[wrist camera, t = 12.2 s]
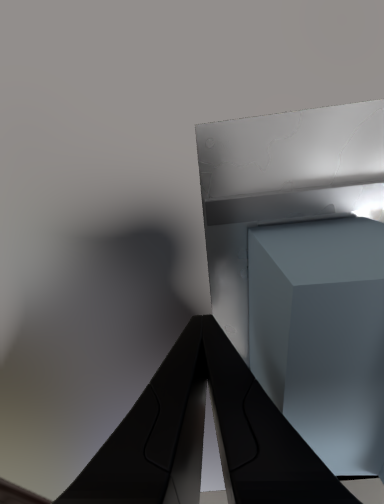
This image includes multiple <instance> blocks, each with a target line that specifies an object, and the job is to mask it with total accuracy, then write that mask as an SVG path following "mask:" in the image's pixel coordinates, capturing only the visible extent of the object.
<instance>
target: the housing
mask: <svg viewBox="0 0 384 504" xmlns="http://www.w3.org/2000/svg"><path fill="white" fill-rule="evenodd" d="M248 271H249V363H250V368H251V372H252V373H253V375H254V376H255V378H256V379H257V380H258V382H259V383H260V385H261V386H262V388H263V389H264V390H265V392H266V393H267V395H268V396H269V397H270V399H271V400H272V401H273V403H274V404H275V405H276V407H277V408H278V409H279V410H280V412H281V413H282V414H283V415H284V416H285V418H286V419H287V420H288V421H289V423H290V424H291V425H292V426H293V427H294V428H295V430H296V431H297V432H298V433H299V434H300V435H301V437H302V438H303V439H304V440H305V441H306V442H307V444H308V445H309V446H310V447H311V448H312V449H313V451H314V452H315V453H316V454H317V455H318V456H319V458H320V459H321V460H322V461H323V462H324V463H325V465H326V466H327V467H328V468H329V469H330V471H331V472H332V473H333V474H334V475H335V476H337V475H378V476H379V478H380V479H381V481H382V483H383V484H384V223H382V222H379V221H376V220H373V219H369V218H366V217H353V218H343V219H333V220H323V221H312V222H302V223H292V224H282V225H271V226H261V227H251V228H248Z"/></svg>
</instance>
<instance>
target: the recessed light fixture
mask: <svg viewBox="0 0 384 504" xmlns="http://www.w3.org/2000/svg"><path fill="white" fill-rule="evenodd" d="M340 482H341V483H342V484H343V485H344V486H345V487H346V488H347V489H348V490H349V491H350V492H351V493H352V494H353V495H354V496H355V497H356V498H357V499H358V500H359V501H361V502H362V503H363V504H384V484H383V483H382V481H381V479H380V478H372V479H359V480H347V481H340ZM199 504H228V500H227V494H226V490H221V491H209V492H200V501H199Z"/></svg>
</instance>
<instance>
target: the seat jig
mask: <svg viewBox="0 0 384 504" xmlns="http://www.w3.org/2000/svg"><path fill="white" fill-rule="evenodd" d="M195 130H196V141H197V152H198V163H199V173H200V185H201V194H202V206H203V216H204V228H205V239H206V250H207V260H208V271H209V282H210V293H211V304H212V314H213V316H214V318H215V319H216V321H217V322H218V324H219V325H220V327H221V328H222V329H223V331H224V332H225V334H226V335H227V337H228V338H229V340H230V341H231V343H232V344H233V345H234V347H235V348H236V350H237V351H238V353H239V354H240V356H241V357H242V359H243V360H244V362H245V363H246V364H247V366H248V367H249V369H250V370H251V368H250V363H249V271H248V228H251V227H261V226H271V225H282V224H292V223H302V222H312V221H323V220H333V219H343V218H353V217H366V218H369V219H373V220H376V221H379V222H382V223H384V99H379V100H372V101H365V102H357V103H350V104H343V105H336V106H328V107H321V108H313V109H306V110H299V111H291V112H284V113H277V114H270V115H262V116H255V117H248V118H240V119H233V120H226V121H218V122H212V123H204V124H197V125H195Z"/></svg>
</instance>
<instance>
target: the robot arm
mask: <svg viewBox="0 0 384 504" xmlns="http://www.w3.org/2000/svg"><path fill="white" fill-rule="evenodd" d="M207 381H208V386H209V393H210V399H211V405H212V410H213V417H214V423H215V429H216V435H217V441H218V447H219V453H220V458H221V465H222V471H223V476H224V482H225V488H226V494H227V500H228V504H363V503H362V502H361V501H359V500H358V499H357V498H356V497H355V496H354V495H353V494H352V493H351V492H350V491H349V490H348V489H347V488H346V487H345V486H344V485H343V484H342V483H341V482H340V481H339V480H338V478H337V477H336V476H335V475H334V474H333V473H332V472H331V471H330V469H329V468H328V467H327V466H326V465H325V463H324V462H323V461H322V460H321V459H320V458H319V456H318V455H317V454H316V453H315V452H314V451H313V449H312V448H311V447H310V446H309V445H308V444H307V442H306V441H305V440H304V439H303V438H302V437H301V435H300V434H299V433H298V432H297V431H296V430H295V428H294V427H293V426H292V425H291V424H290V423H289V421H288V420H287V419H286V418H285V416H284V415H283V414H282V413H281V412H280V410H279V409H278V408H277V407H276V405H275V404H274V403H273V401H272V400H271V399H270V397H269V396H268V395H267V393H266V392H265V390H264V389H263V388H262V386H261V385H260V383H259V382H258V380H257V379H256V378H255V376H254V375H253V373H252V372H251V370H250V369H249V367H248V366H247V364H246V363H245V362H244V360H243V359H242V357H241V356H240V354H239V353H238V351H237V350H236V348H235V347H234V345H233V344H232V343H231V341H230V340H229V338H228V337H227V335H226V334H225V332H224V331H223V329H222V328H221V327H220V325H219V324H218V322H217V321H216V319H215V318H214V316H213V315H203V316H202V315H196V316H193V317H192V318H191V320H190V321H189V323H188V324H187V326H186V327H185V329H184V330H183V332H182V333H181V335H180V336H179V338H178V339H177V341H176V342H175V344H174V346H173V347H172V349H171V350H170V352H169V353H168V355H167V356H166V358H165V359H164V361H163V362H162V364H161V365H160V367H159V368H158V370H157V371H156V373H155V374H154V376H153V378H152V379H151V381H150V384H148V385H147V386H146V388H145V390H144V391H143V393H142V394H141V396H140V397H139V398H138V400H137V401H136V403H135V404H134V406H133V407H132V409H131V410H130V411H129V413H128V414H127V415H126V417H125V418H124V419H123V420H122V422H121V423H120V424H119V426H118V427H117V428H116V429H115V431H114V432H113V433H112V434H111V436H110V437H109V438H108V439H107V441H106V442H105V443H104V444H103V446H102V447H101V448H100V449H99V451H98V452H97V453H96V454H95V456H94V457H93V458H92V459H91V461H90V462H89V463H88V464H87V466H86V467H85V468H84V469H83V471H82V472H81V473H80V474H79V476H78V477H77V478H76V479H75V480H74V482H73V483H72V484H71V485H70V486H69V487H68V488H67V489H66V490H65V491H64V492H63V493H62V494H61V495H60V496H59V497H58V498H57V499H56V500H54V501H53V502H52V503H51V504H199V501H200V485H201V469H202V453H203V452H202V451H203V436H204V421H205V420H204V419H205V405H206V388H207Z"/></svg>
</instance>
